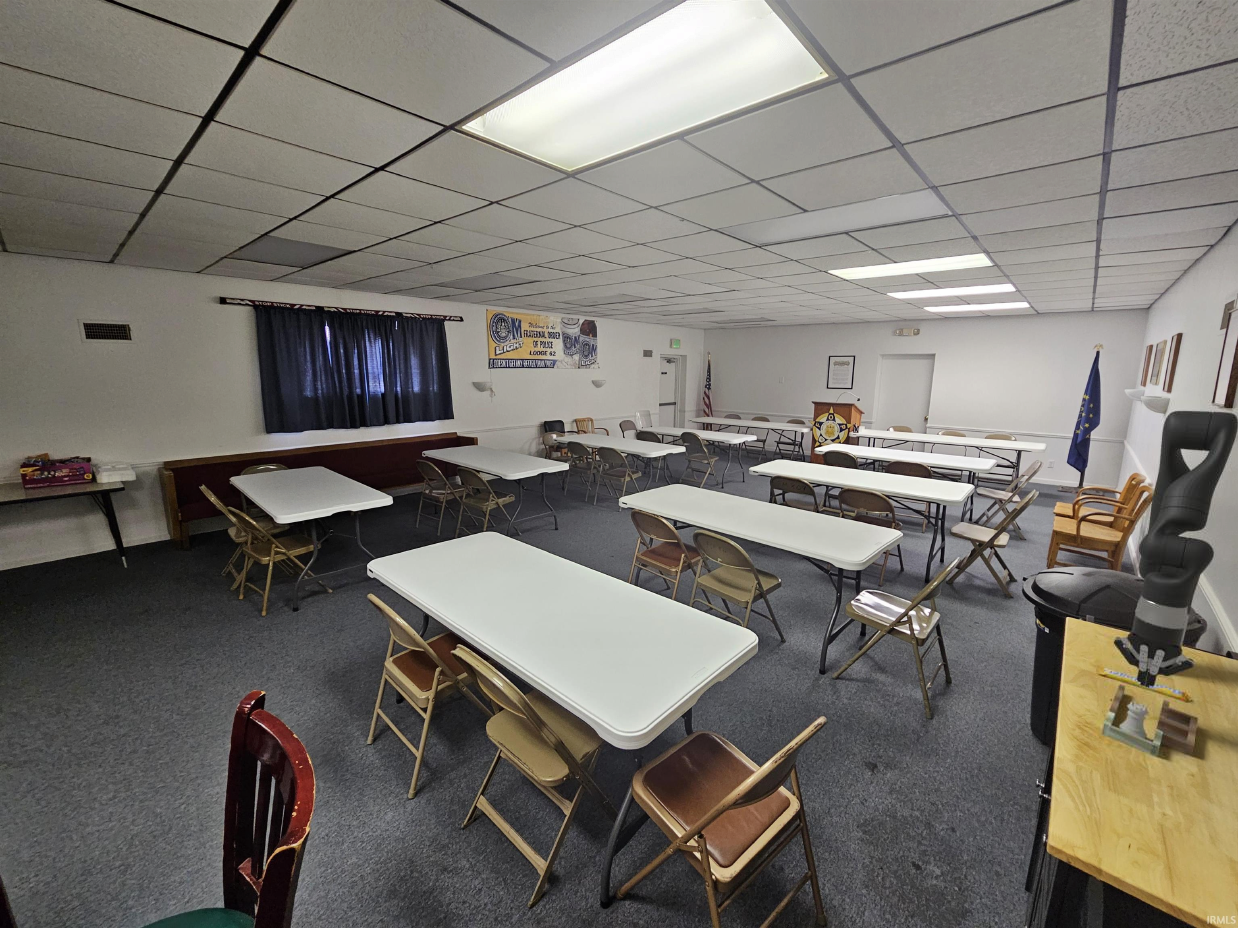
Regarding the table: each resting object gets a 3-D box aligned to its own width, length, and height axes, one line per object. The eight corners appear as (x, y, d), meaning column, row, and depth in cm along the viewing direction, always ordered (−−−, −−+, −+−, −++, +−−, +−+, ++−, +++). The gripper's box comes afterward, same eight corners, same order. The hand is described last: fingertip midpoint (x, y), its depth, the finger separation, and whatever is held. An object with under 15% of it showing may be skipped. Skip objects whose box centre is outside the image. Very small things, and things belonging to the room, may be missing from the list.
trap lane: (1118, 692, 122) (1119, 684, 122) (1196, 720, 112) (1198, 711, 112) (1101, 733, 108) (1103, 724, 108) (1189, 770, 98) (1192, 760, 98)
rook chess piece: (1129, 728, 110) (1136, 698, 108) (1152, 743, 106) (1159, 711, 104) (1111, 729, 110) (1118, 699, 108) (1133, 744, 105) (1141, 712, 104)
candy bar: (1188, 697, 121) (1189, 690, 120) (1190, 705, 118) (1191, 698, 118) (1095, 668, 133) (1096, 662, 132) (1095, 675, 130) (1096, 669, 129)
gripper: (1206, 624, 105) (1189, 692, 109) (1120, 602, 116) (1108, 664, 119) (1204, 636, 101) (1186, 707, 104) (1115, 612, 111) (1102, 677, 115)
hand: (1144, 684), depth 112 cm, fingers closed
